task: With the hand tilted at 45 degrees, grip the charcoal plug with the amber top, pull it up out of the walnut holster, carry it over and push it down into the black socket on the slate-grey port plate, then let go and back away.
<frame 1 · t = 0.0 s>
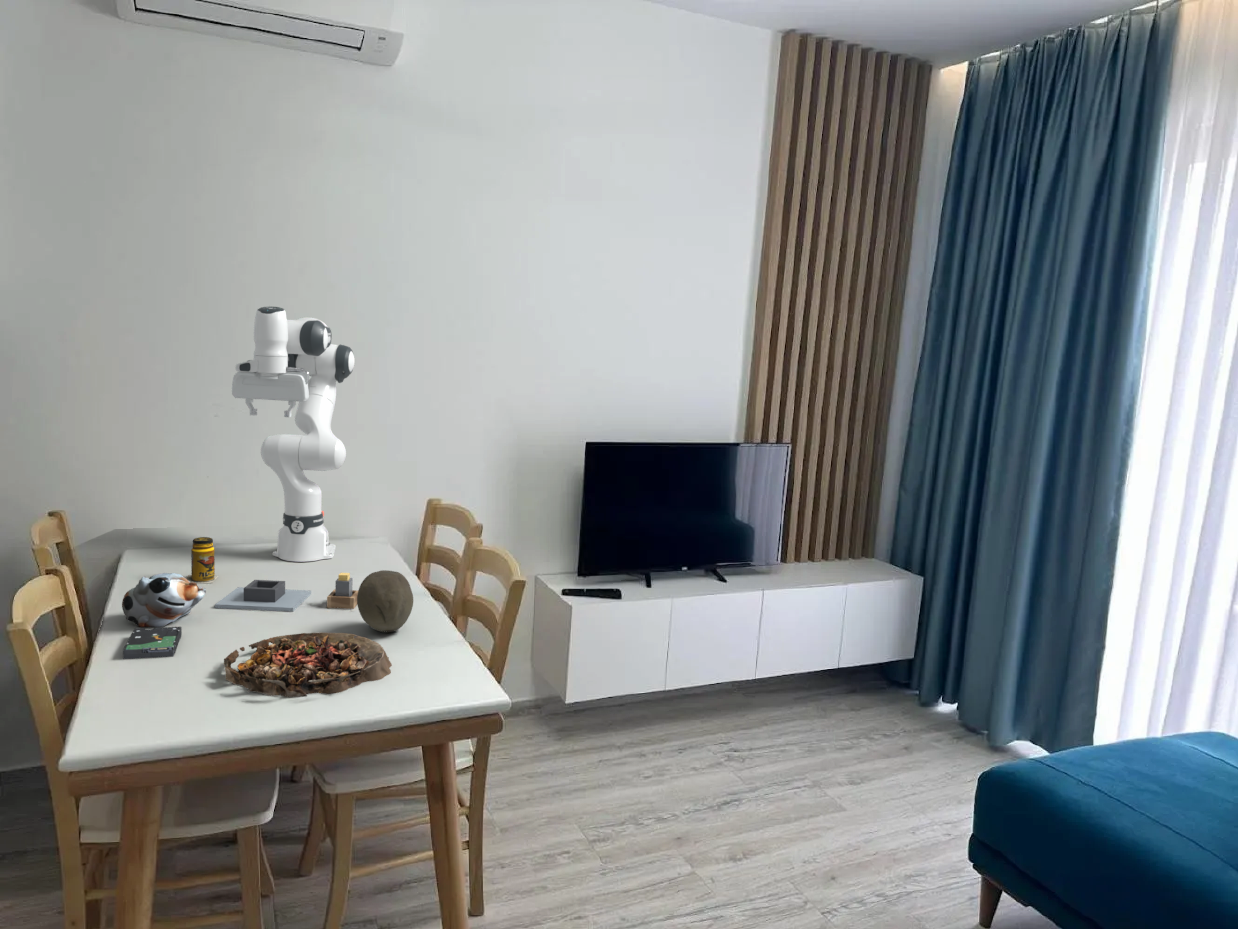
hand: (270, 416, 259), 48 cm above the table, tool pointing down, fingers open, 8 cm apart
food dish: (311, 672, 205), on the table
holster: (343, 604, 251), on the table
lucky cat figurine: (164, 621, 231), on the table
condiment: (200, 580, 266), on the table
plug: (343, 589, 250), in the holster
port: (264, 600, 250), on the table
grey brown round stone: (384, 630, 233), on the table
disk drive: (153, 649, 213), on the table
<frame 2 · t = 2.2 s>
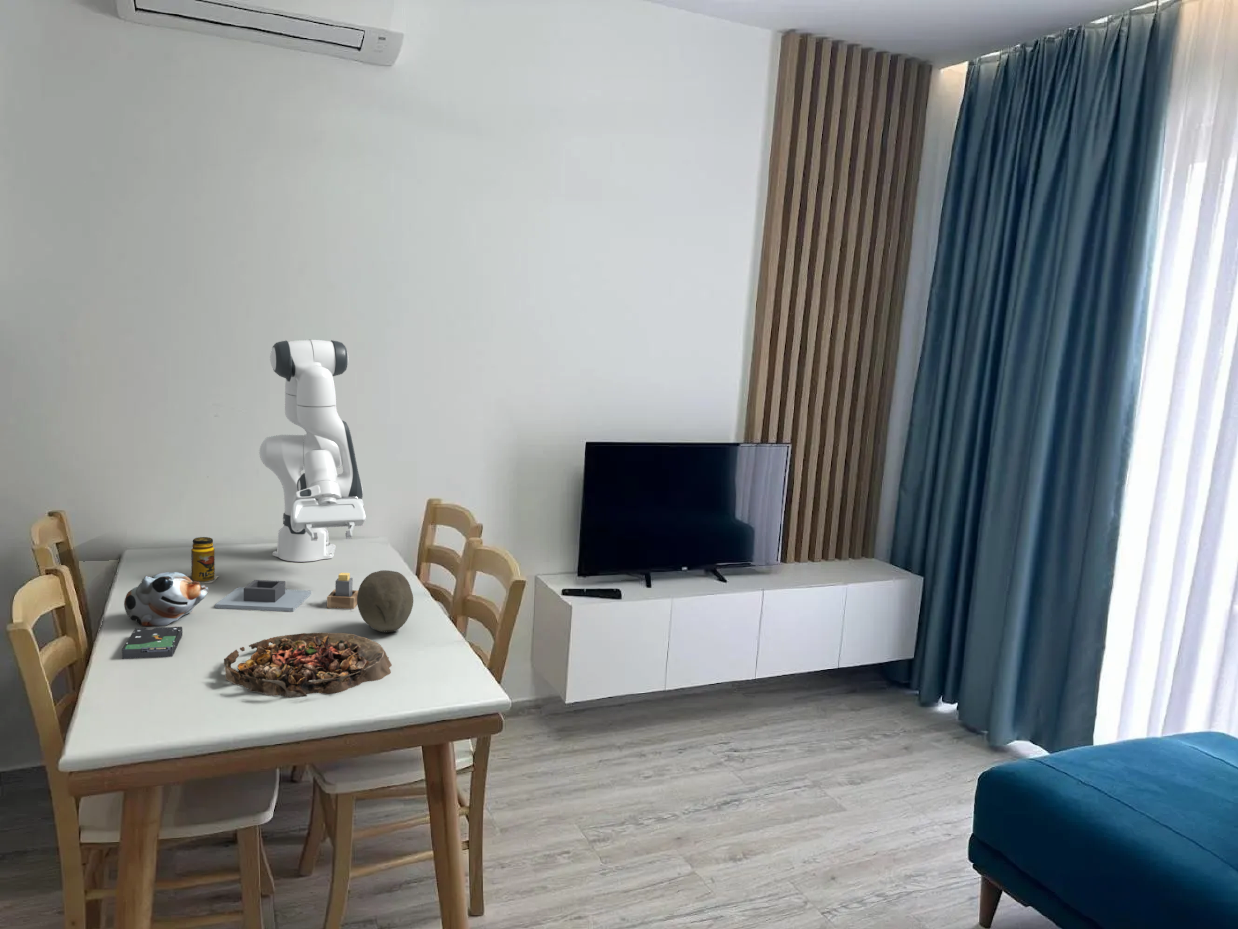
hand: (332, 538, 258), 15 cm above the table, tool tilted 45°, fingers open, 8 cm apart
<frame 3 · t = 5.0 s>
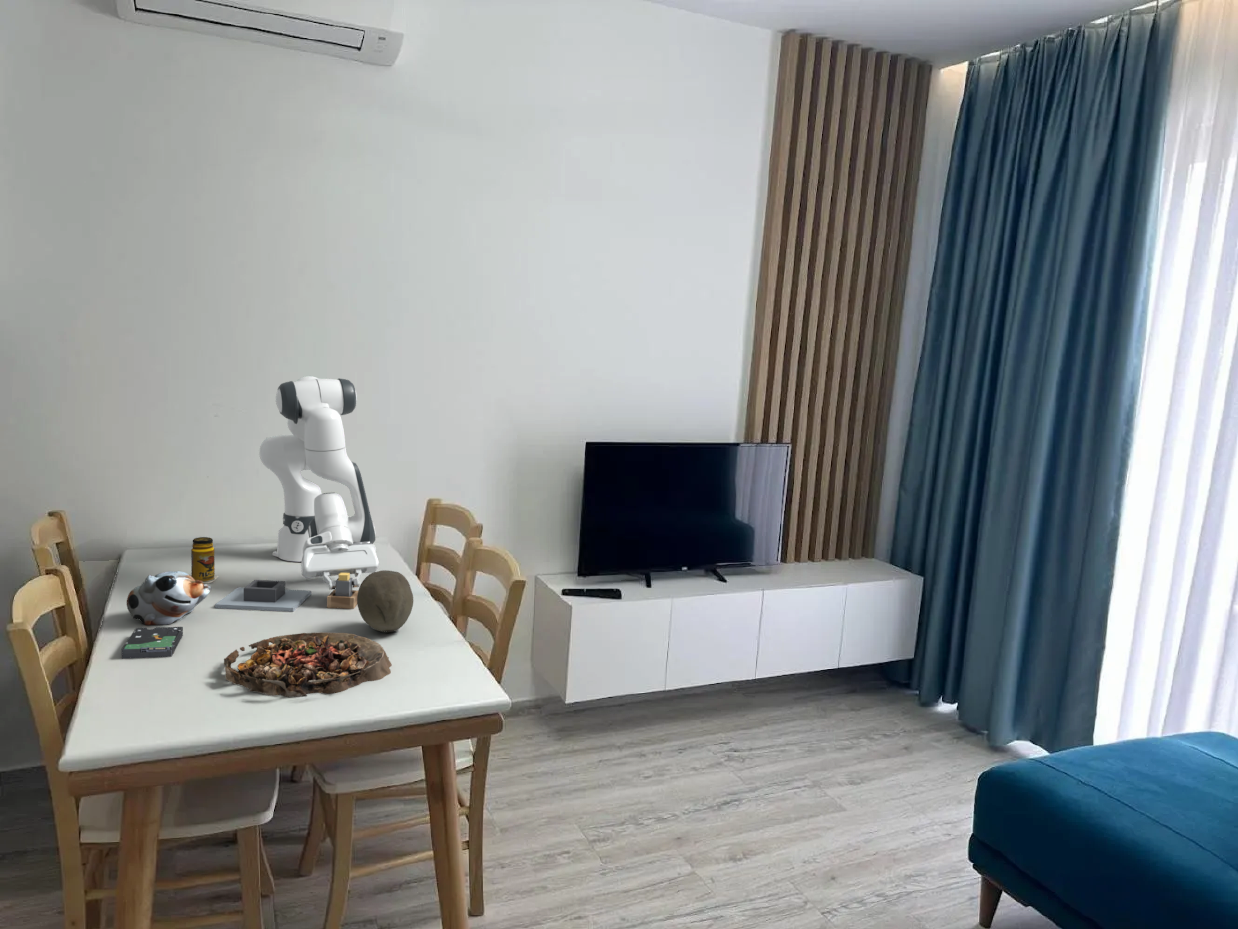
hand: (344, 587, 250), 5 cm above the table, tool tilted 45°, fingers closed on plug, 5 cm apart
plug: (343, 589, 250), in the holster, touching gripper
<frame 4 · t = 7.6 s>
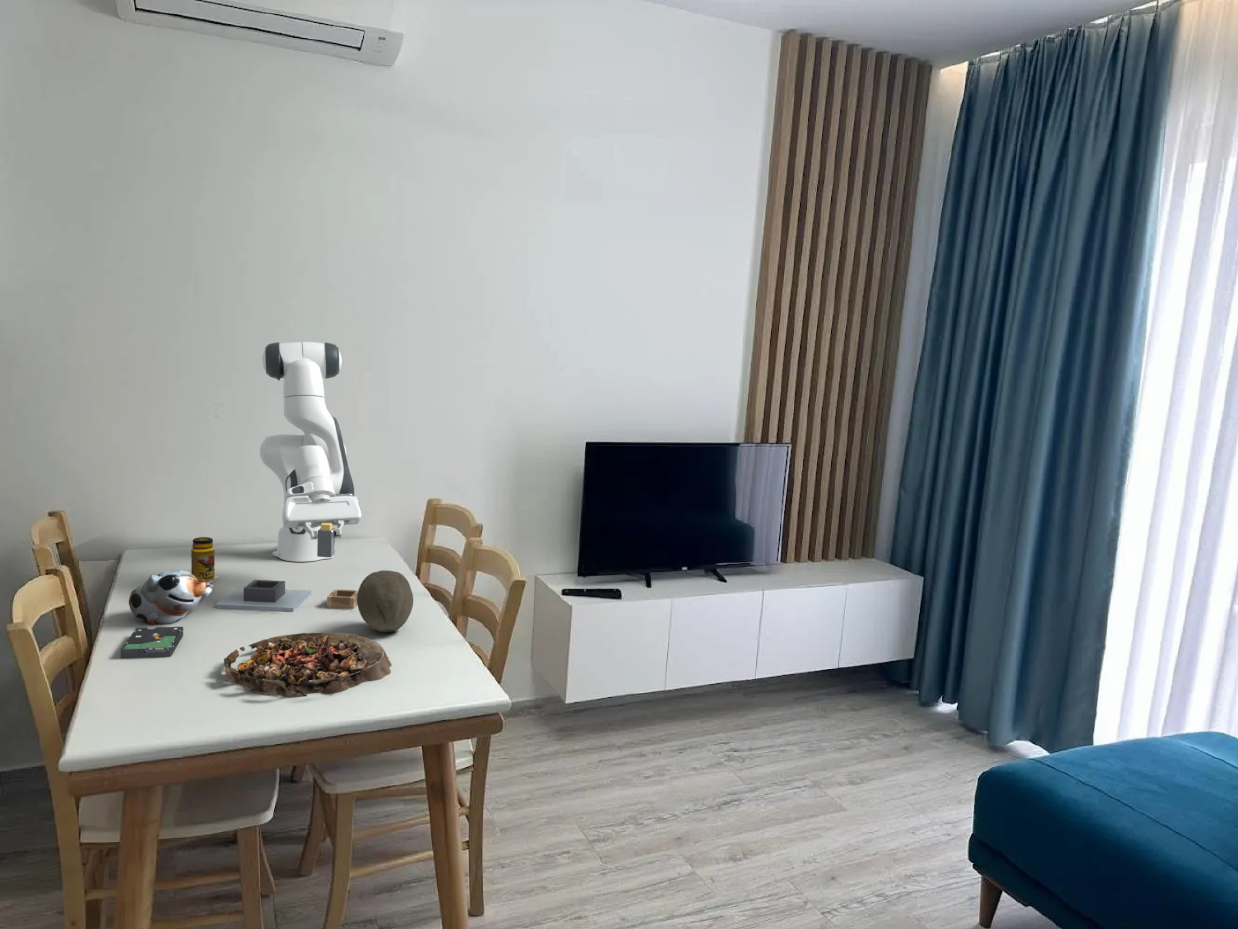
hand: (326, 537, 246), 19 cm above the table, tool tilted 45°, fingers closed on plug, 5 cm apart
plug: (326, 539, 246), point 18 cm above the table, touching gripper
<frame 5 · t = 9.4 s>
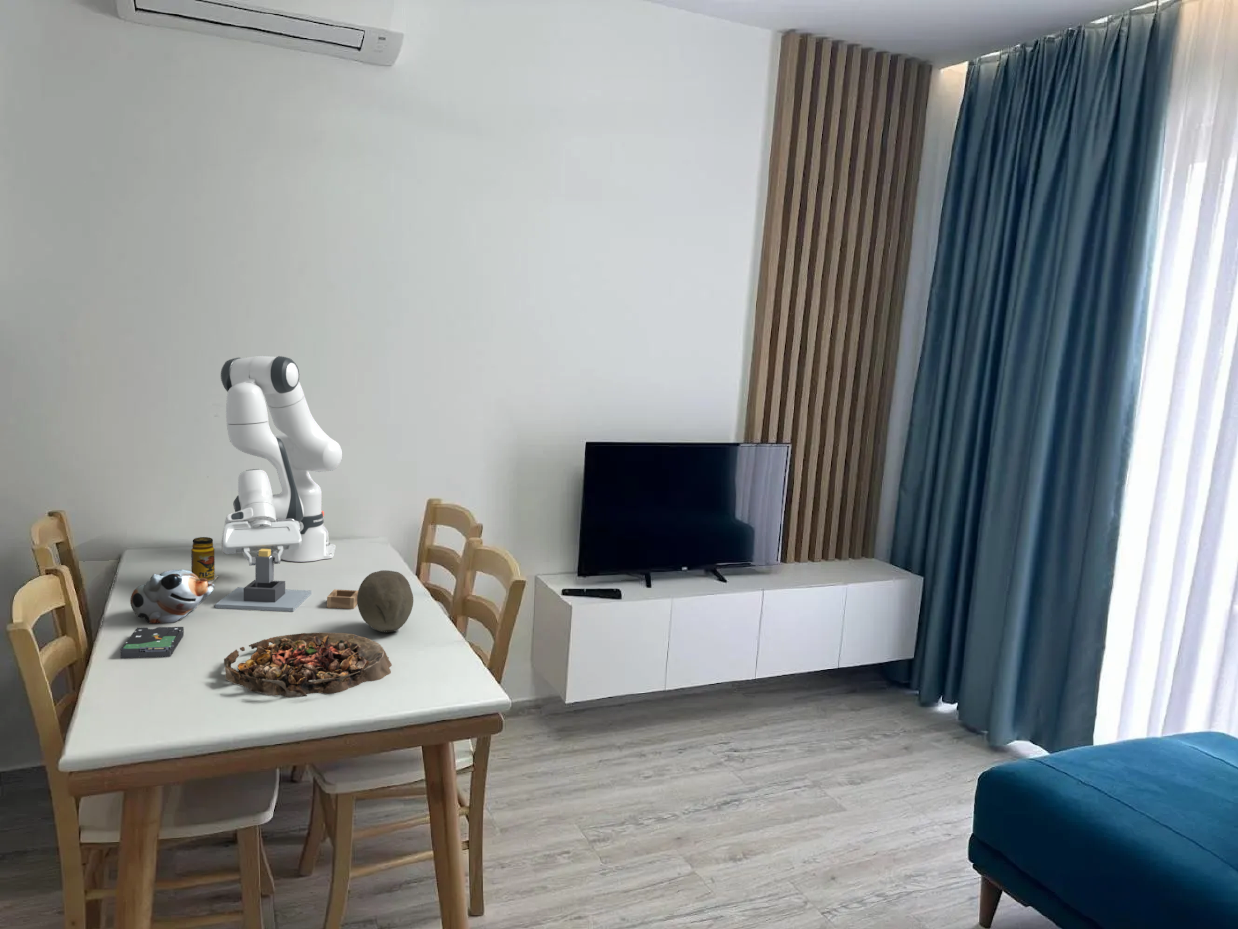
hand: (265, 563, 248), 10 cm above the table, tool tilted 45°, fingers closed on plug, 5 cm apart
plug: (264, 565, 248), point 10 cm above the table, touching gripper
when the fingers open (6 cm above the table, at t = 10.6 s): plug stays where it is, resting on port.
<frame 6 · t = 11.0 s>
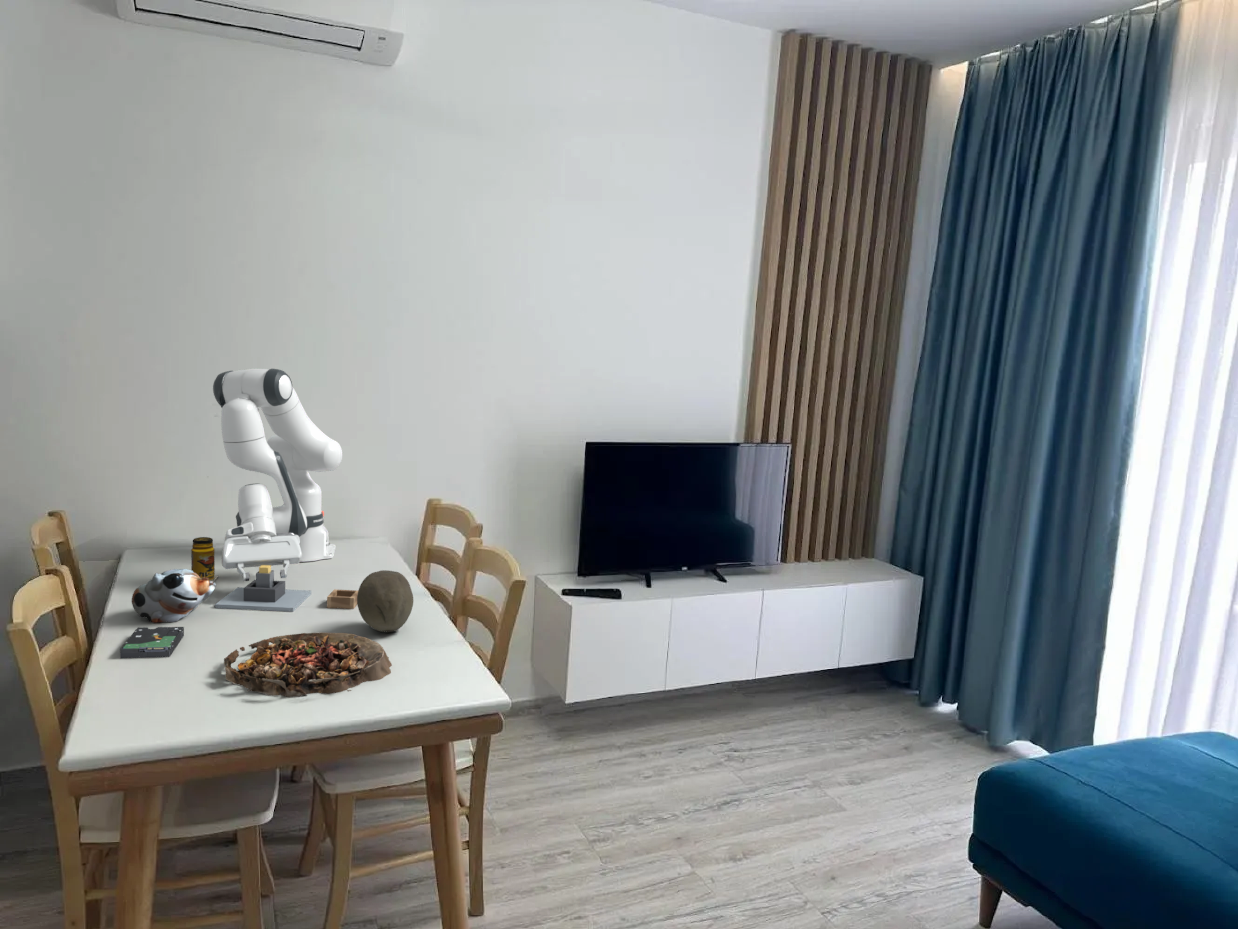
hand: (265, 578, 249), 6 cm above the table, tool tilted 45°, fingers open, 8 cm apart
plug: (265, 581, 249), in the port, point 5 cm above the table
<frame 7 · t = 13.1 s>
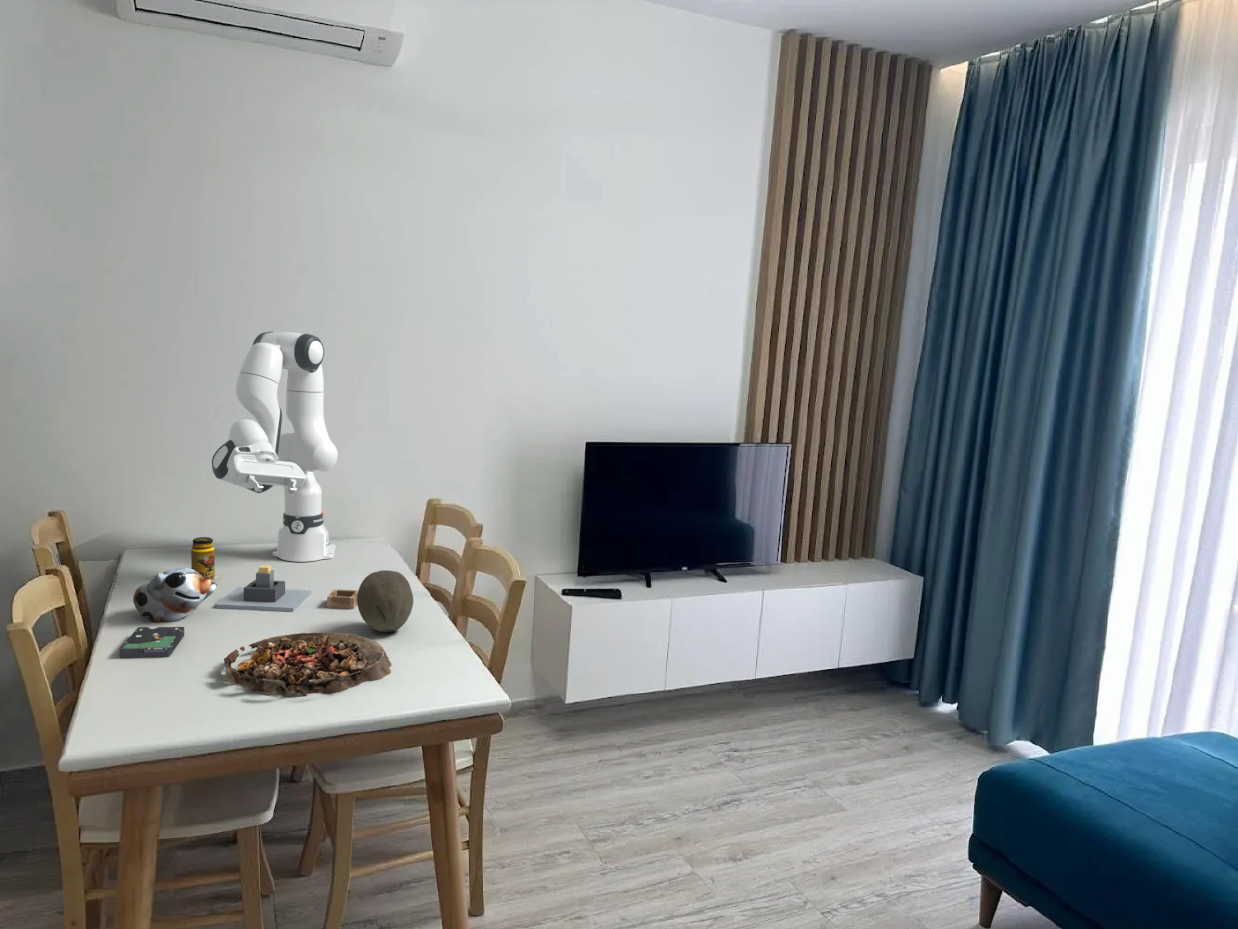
hand: (276, 491, 249), 29 cm above the table, tool tilted 60°, fingers open, 8 cm apart
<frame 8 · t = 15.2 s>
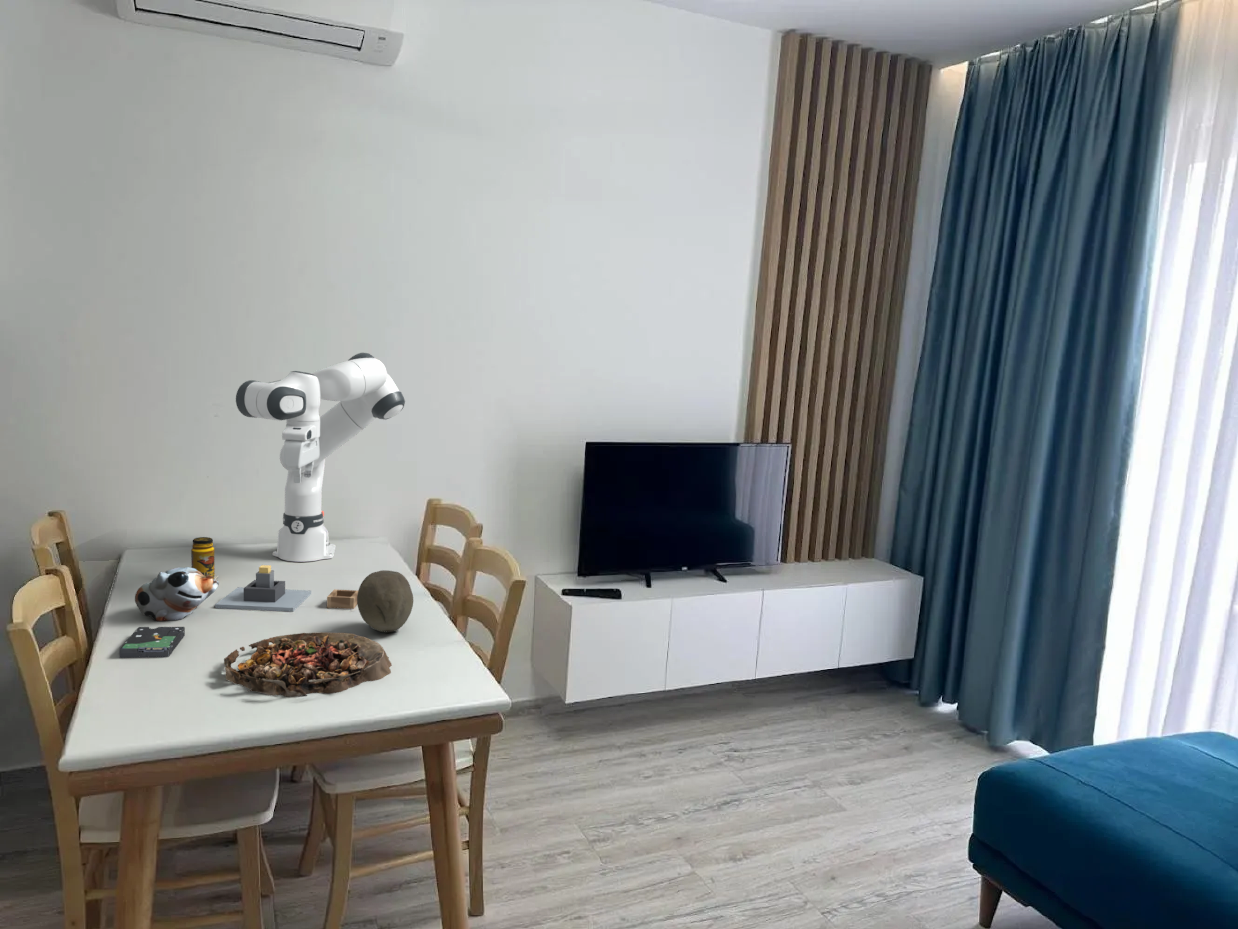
hand: (302, 479, 258), 31 cm above the table, tool pointing down, fingers open, 8 cm apart
at the end: plug 0.1 cm off-centre on the port, point 5.2 cm above the port's base; plug tilted 0°; the gripper is holding nothing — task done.
